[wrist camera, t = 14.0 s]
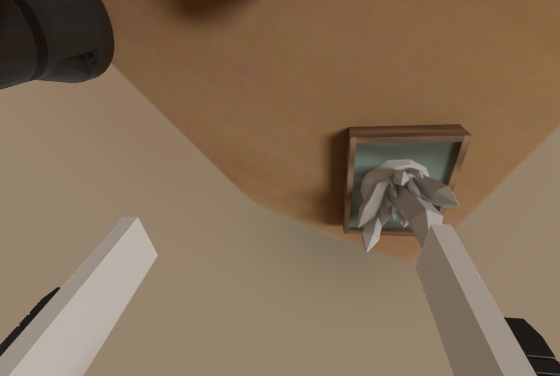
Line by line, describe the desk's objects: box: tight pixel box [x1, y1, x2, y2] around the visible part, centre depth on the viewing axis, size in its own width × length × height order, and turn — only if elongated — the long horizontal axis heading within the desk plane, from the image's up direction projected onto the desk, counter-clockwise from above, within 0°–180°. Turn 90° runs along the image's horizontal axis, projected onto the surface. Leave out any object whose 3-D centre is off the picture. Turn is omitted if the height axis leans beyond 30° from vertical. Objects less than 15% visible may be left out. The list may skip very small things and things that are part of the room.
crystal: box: [358, 159, 459, 252], centre depth 34 cm, size 10×13×15 cm
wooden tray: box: [343, 124, 472, 236], centre depth 40 cm, size 18×15×4 cm
